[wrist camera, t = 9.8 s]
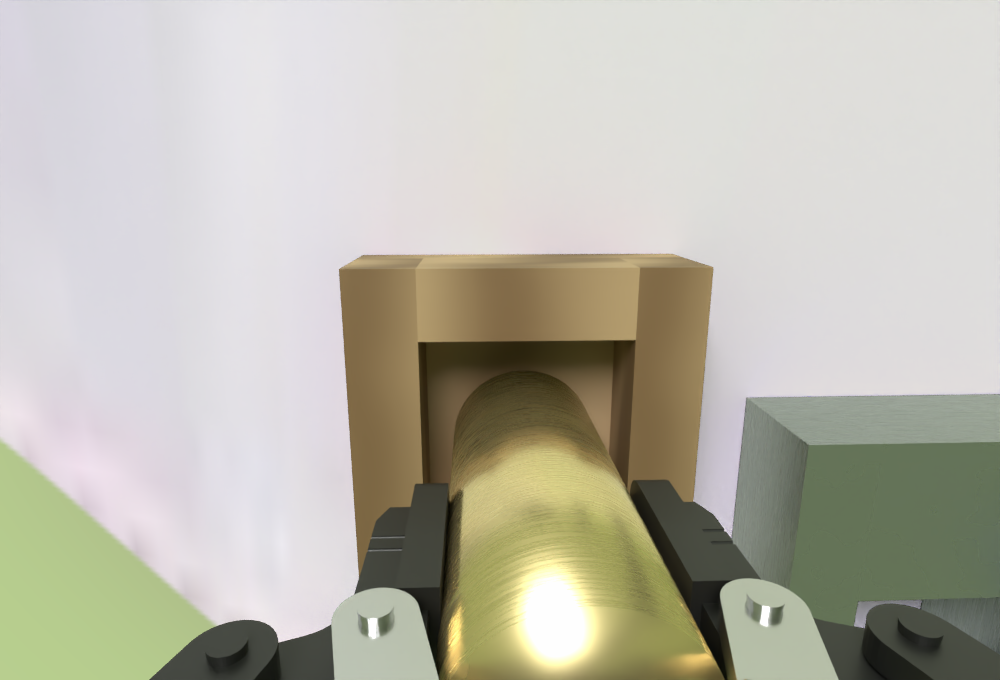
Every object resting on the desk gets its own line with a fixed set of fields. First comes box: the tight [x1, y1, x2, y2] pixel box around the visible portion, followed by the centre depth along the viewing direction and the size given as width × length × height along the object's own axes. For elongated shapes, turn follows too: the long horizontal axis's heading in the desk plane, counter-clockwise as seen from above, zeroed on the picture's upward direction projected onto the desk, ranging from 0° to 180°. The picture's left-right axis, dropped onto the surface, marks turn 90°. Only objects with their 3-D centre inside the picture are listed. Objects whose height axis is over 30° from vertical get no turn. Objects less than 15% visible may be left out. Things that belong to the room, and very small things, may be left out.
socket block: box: [339, 254, 713, 577], centre depth 19 cm, size 10×10×4 cm
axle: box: [436, 370, 725, 680], centre depth 13 cm, size 4×4×10 cm
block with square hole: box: [732, 394, 1000, 654], centre depth 21 cm, size 10×16×4 cm, turn 0°
